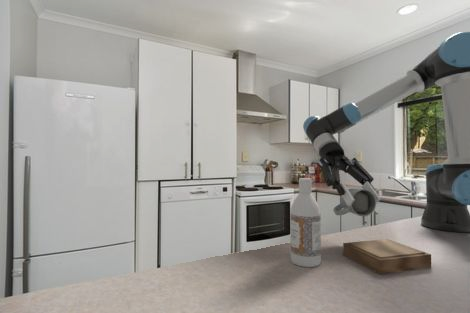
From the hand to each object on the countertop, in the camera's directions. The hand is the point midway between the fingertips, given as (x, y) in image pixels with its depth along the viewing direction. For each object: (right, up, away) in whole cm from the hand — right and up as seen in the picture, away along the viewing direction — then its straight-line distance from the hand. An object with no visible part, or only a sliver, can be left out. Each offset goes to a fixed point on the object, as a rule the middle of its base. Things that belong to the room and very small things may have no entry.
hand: (364, 202), depth 72 cm
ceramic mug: (-2, -4, +3) cm, 6 cm away
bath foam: (-20, -12, -11) cm, 26 cm away
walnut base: (0, -12, -10) cm, 16 cm away
